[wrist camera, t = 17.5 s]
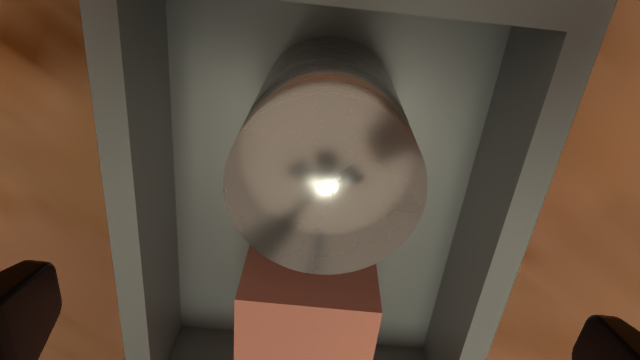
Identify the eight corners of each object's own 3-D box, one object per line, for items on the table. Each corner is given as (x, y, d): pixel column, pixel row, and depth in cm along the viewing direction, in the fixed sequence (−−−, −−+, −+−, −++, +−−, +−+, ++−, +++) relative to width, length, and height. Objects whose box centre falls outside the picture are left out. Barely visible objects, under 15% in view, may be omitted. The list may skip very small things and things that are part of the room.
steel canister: (383, 170, 19) (407, 283, 13) (259, 157, 19) (222, 265, 13) (405, 44, 17) (448, 106, 10) (265, 29, 16) (222, 82, 10)
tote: (434, 349, 25) (456, 439, 20) (168, 324, 24) (131, 410, 20) (541, -19, 16) (618, -5, 12) (143, -63, 16) (70, -65, 12)
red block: (356, 318, 22) (362, 411, 18) (253, 308, 22) (233, 399, 18) (371, 231, 20) (382, 313, 16) (256, 220, 20) (234, 299, 16)
